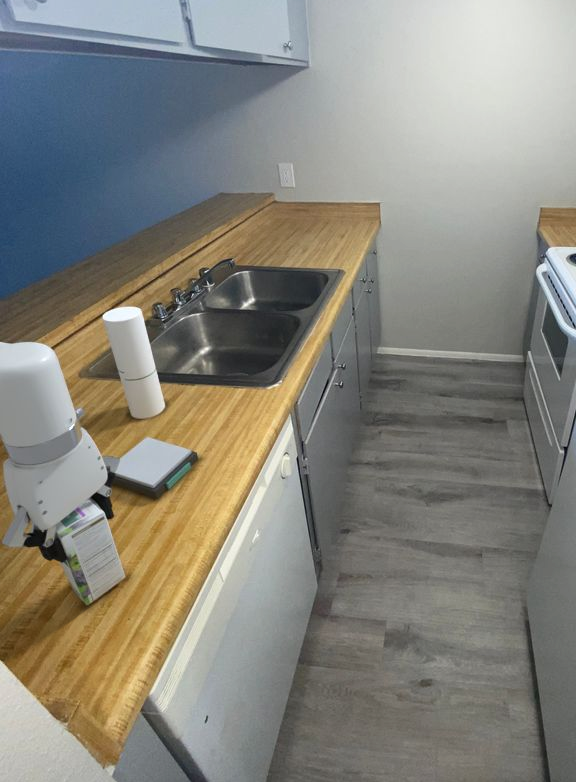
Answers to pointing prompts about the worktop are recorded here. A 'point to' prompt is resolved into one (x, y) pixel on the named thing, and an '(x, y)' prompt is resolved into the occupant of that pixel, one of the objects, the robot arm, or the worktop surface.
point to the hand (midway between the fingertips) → (81, 535)
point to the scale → (153, 467)
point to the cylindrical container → (134, 361)
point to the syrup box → (89, 552)
